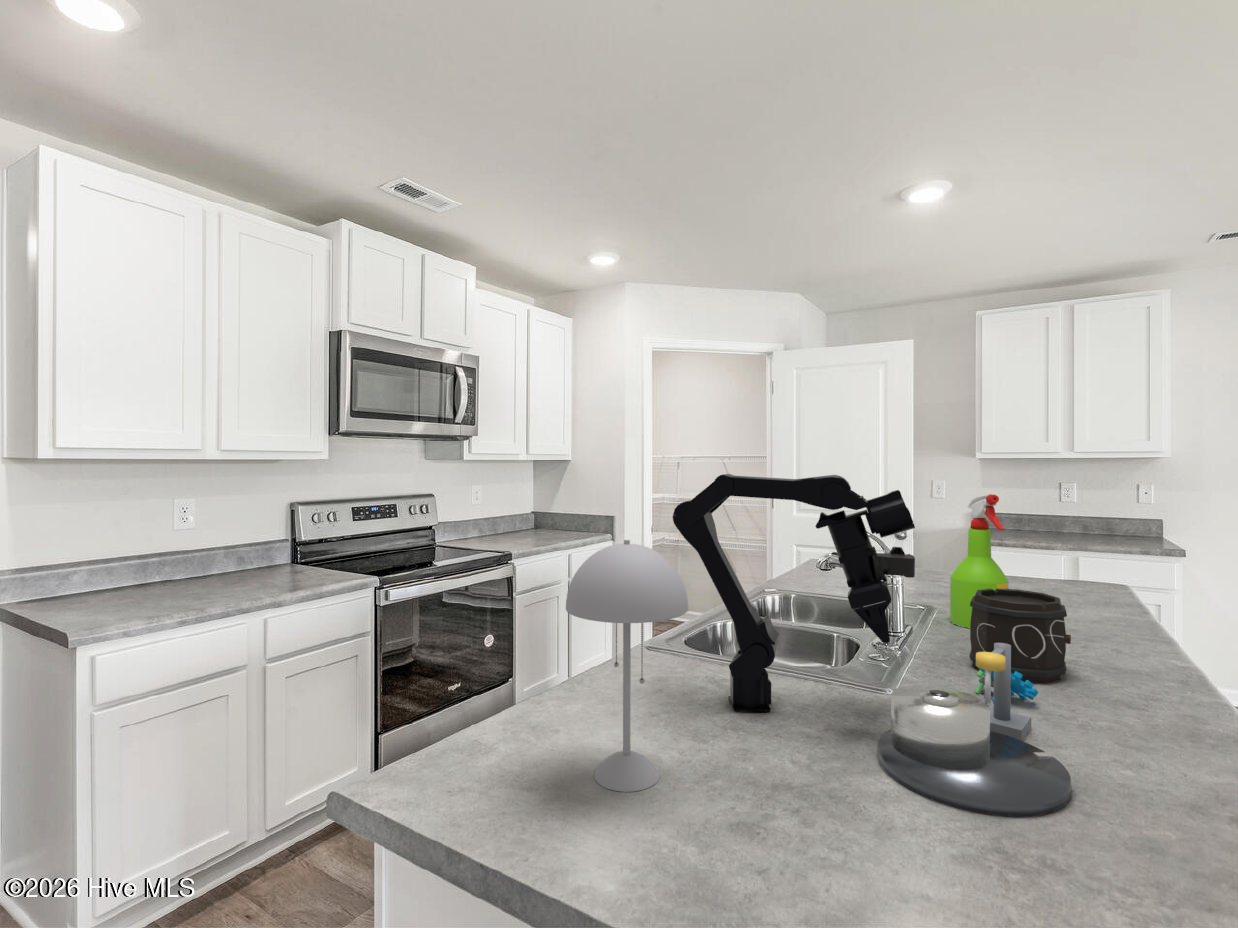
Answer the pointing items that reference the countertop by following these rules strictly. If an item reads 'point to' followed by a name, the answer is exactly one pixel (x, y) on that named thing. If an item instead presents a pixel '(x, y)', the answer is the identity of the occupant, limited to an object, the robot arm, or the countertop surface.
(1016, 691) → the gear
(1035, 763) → the turntable
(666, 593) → the lamp
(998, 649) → the gauge stand
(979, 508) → the spray bottle
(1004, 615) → the wooden barrel
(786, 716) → the countertop surface
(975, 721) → the cover
